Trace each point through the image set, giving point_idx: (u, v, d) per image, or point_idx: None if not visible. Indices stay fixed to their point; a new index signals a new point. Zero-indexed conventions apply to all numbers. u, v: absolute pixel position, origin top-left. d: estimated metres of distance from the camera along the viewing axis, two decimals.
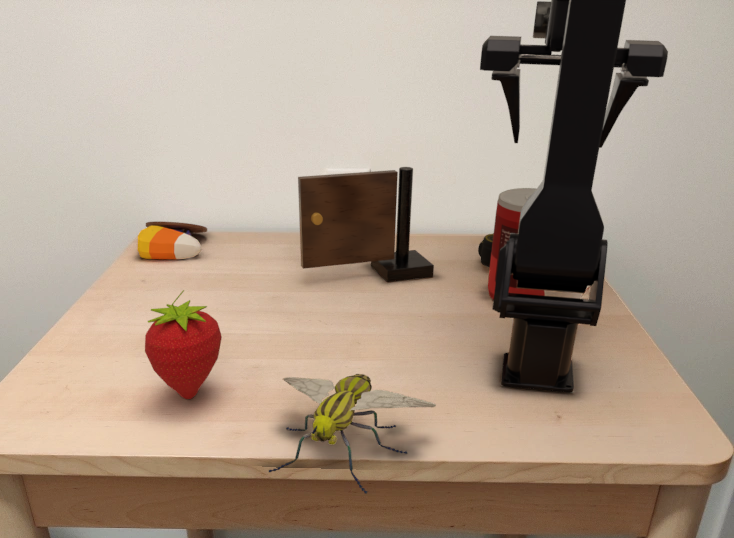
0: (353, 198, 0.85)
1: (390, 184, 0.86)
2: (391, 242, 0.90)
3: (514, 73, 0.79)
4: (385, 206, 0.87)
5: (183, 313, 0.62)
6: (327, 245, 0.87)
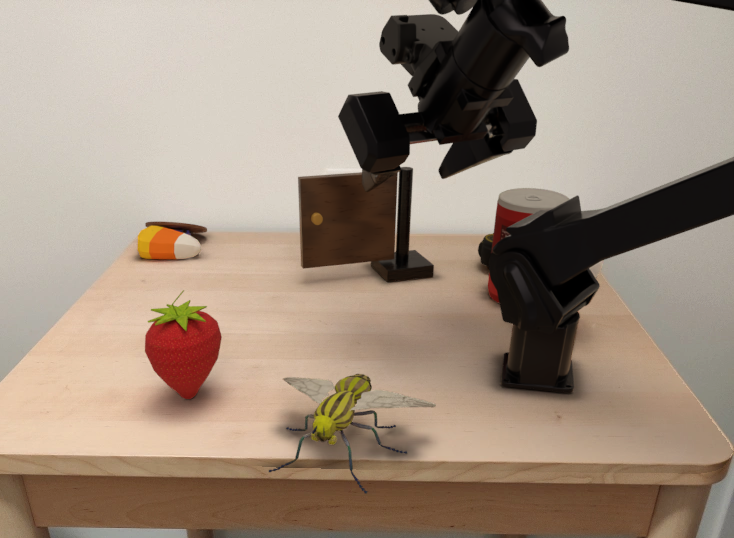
0: (353, 198, 0.85)
1: (390, 184, 0.86)
2: (391, 242, 0.90)
3: None
4: (385, 206, 0.87)
5: (183, 313, 0.62)
6: (327, 245, 0.87)
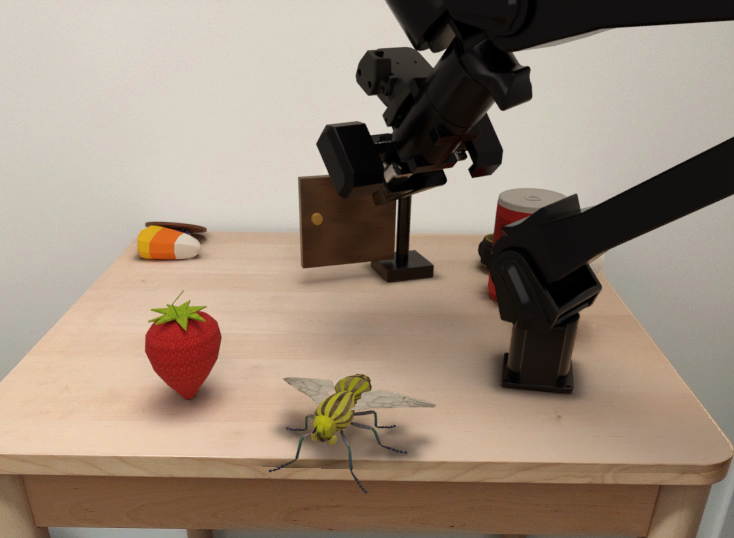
0: (353, 198, 0.85)
1: None
2: (391, 242, 0.90)
3: (406, 180, 0.71)
4: (385, 206, 0.87)
5: (183, 313, 0.62)
6: (327, 245, 0.87)
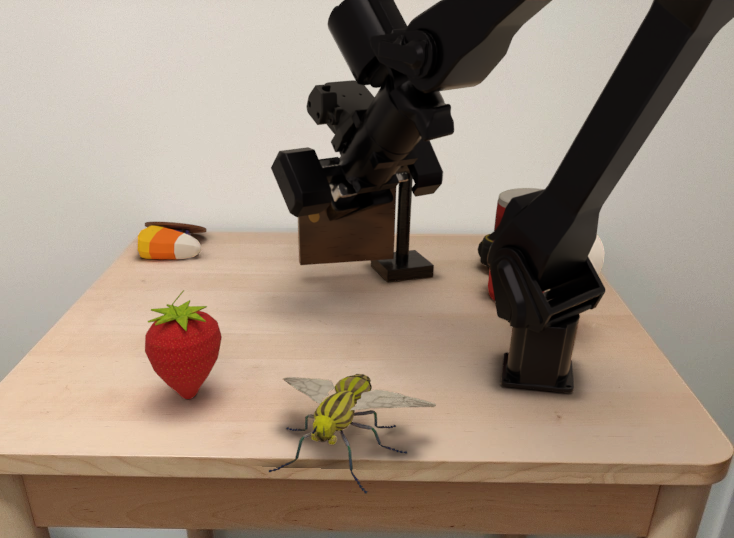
0: None
1: None
2: (390, 242, 0.90)
3: (352, 199, 0.79)
4: (384, 205, 0.87)
5: (183, 313, 0.62)
6: (325, 243, 0.88)
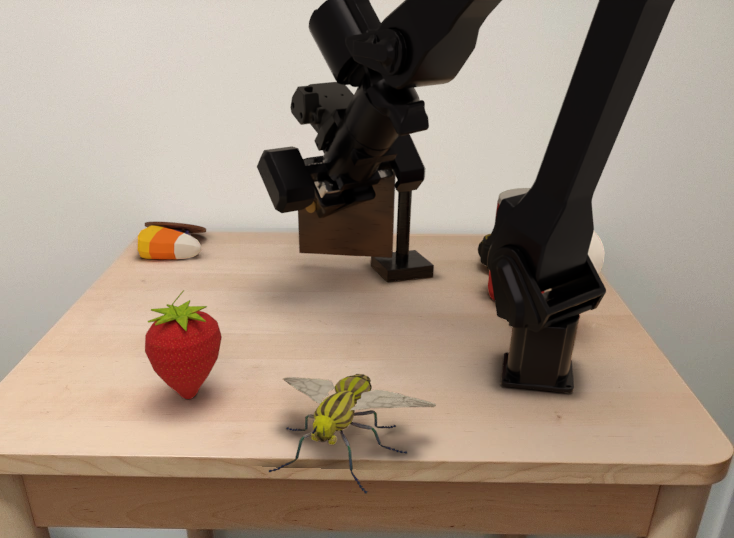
0: None
1: (387, 182, 0.87)
2: (388, 240, 0.90)
3: (338, 195, 0.82)
4: (382, 203, 0.88)
5: (183, 313, 0.62)
6: (323, 234, 0.91)
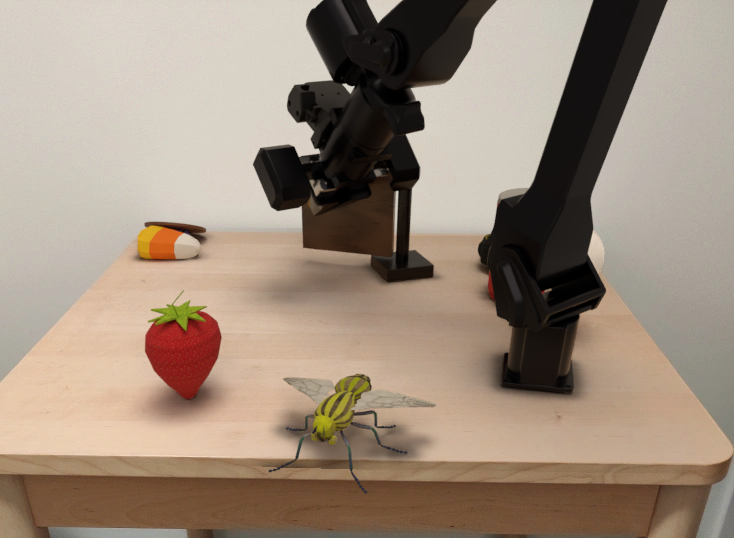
0: None
1: (387, 181, 0.87)
2: (388, 239, 0.91)
3: (333, 194, 0.82)
4: (382, 202, 0.88)
5: (183, 313, 0.62)
6: (325, 230, 0.92)
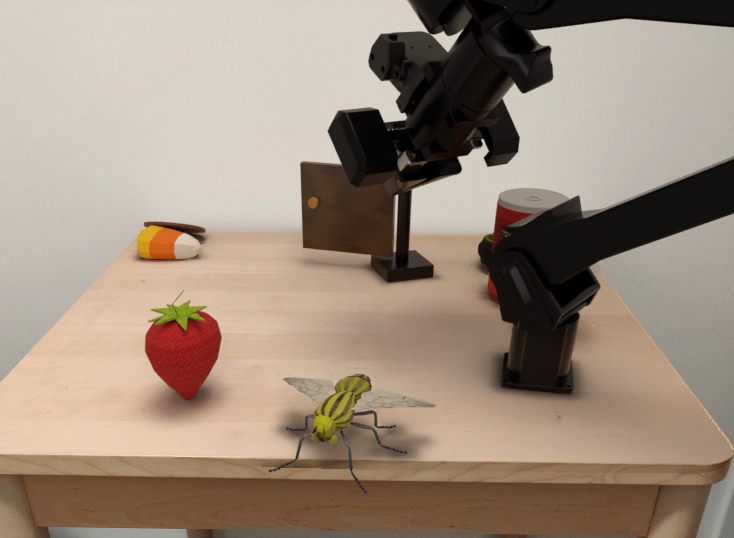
0: (350, 189, 0.88)
1: None
2: (388, 239, 0.91)
3: (419, 169, 0.69)
4: (382, 202, 0.88)
5: (183, 313, 0.62)
6: (325, 230, 0.92)
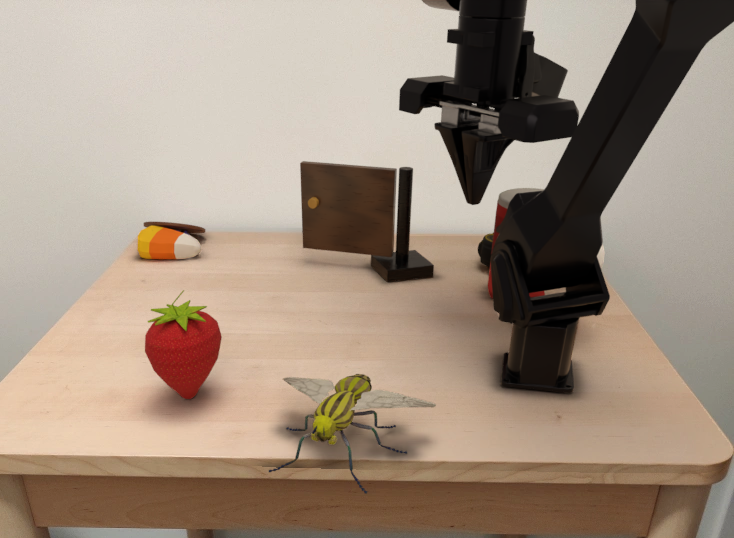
0: (350, 189, 0.88)
1: (387, 181, 0.87)
2: (388, 239, 0.91)
3: (455, 124, 0.70)
4: (382, 202, 0.88)
5: (183, 313, 0.62)
6: (325, 230, 0.92)
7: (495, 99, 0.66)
